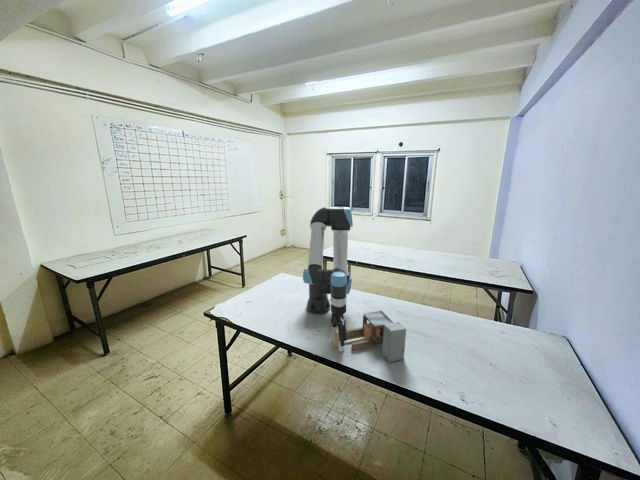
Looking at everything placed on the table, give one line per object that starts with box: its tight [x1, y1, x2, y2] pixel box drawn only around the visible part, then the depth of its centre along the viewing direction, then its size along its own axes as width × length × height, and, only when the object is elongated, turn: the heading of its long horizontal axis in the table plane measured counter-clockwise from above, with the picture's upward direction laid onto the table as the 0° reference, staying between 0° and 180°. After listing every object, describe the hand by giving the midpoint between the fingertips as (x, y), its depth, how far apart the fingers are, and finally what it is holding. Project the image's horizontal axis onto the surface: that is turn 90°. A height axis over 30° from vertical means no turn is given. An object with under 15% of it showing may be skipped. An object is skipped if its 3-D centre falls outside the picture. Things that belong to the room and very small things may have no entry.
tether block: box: [331, 322, 381, 348], centre depth 128 cm, size 6×24×8 cm, turn 105°
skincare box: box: [381, 321, 407, 363], centre depth 117 cm, size 8×7×16 cm
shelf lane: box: [346, 310, 395, 351], centre depth 130 cm, size 12×22×11 cm, turn 106°
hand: (338, 344), depth 127 cm, fingers open, 9 cm apart
